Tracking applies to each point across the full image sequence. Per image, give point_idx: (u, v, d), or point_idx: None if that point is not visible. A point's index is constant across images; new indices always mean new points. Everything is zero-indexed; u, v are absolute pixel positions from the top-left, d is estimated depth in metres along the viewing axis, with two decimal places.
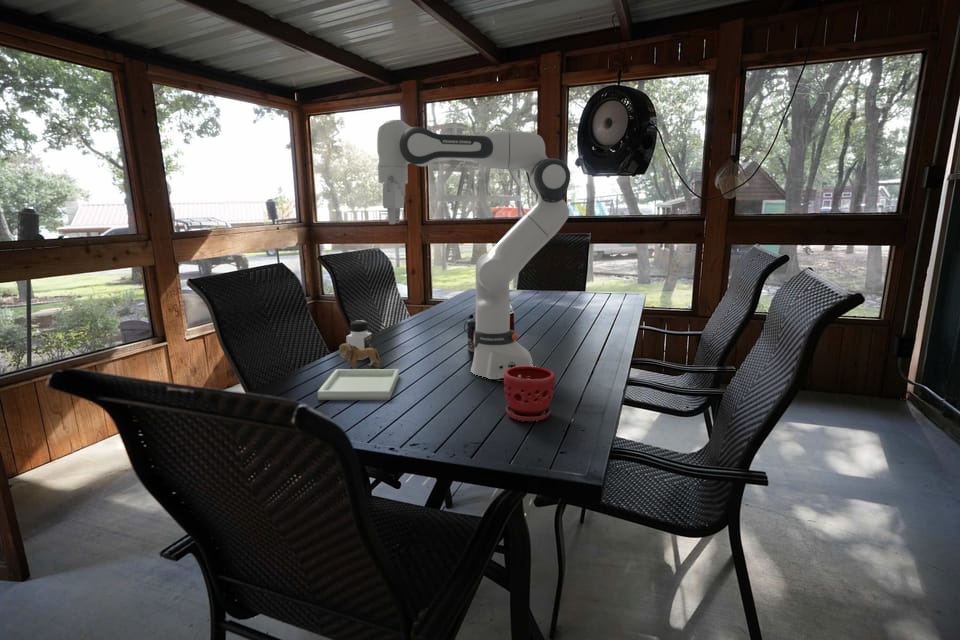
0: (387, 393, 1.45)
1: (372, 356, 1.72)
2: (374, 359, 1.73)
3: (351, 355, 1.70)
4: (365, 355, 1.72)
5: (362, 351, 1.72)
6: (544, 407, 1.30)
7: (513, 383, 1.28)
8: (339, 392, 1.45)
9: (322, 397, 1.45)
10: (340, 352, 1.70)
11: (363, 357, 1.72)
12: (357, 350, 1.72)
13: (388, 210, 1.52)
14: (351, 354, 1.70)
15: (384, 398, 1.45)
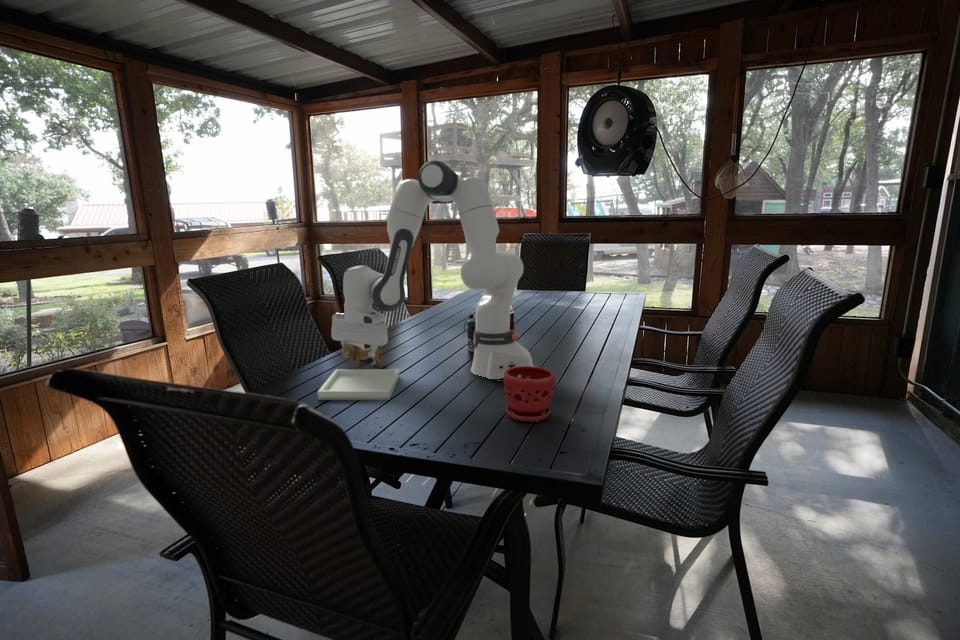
0: (387, 393, 1.45)
1: (375, 356, 1.73)
2: (377, 359, 1.73)
3: (355, 355, 1.70)
4: (368, 355, 1.73)
5: (365, 351, 1.72)
6: (544, 407, 1.30)
7: (513, 383, 1.28)
8: (339, 392, 1.45)
9: (322, 397, 1.45)
10: (343, 352, 1.70)
11: (366, 357, 1.73)
12: (360, 349, 1.72)
13: None
14: (354, 354, 1.70)
15: (384, 398, 1.45)
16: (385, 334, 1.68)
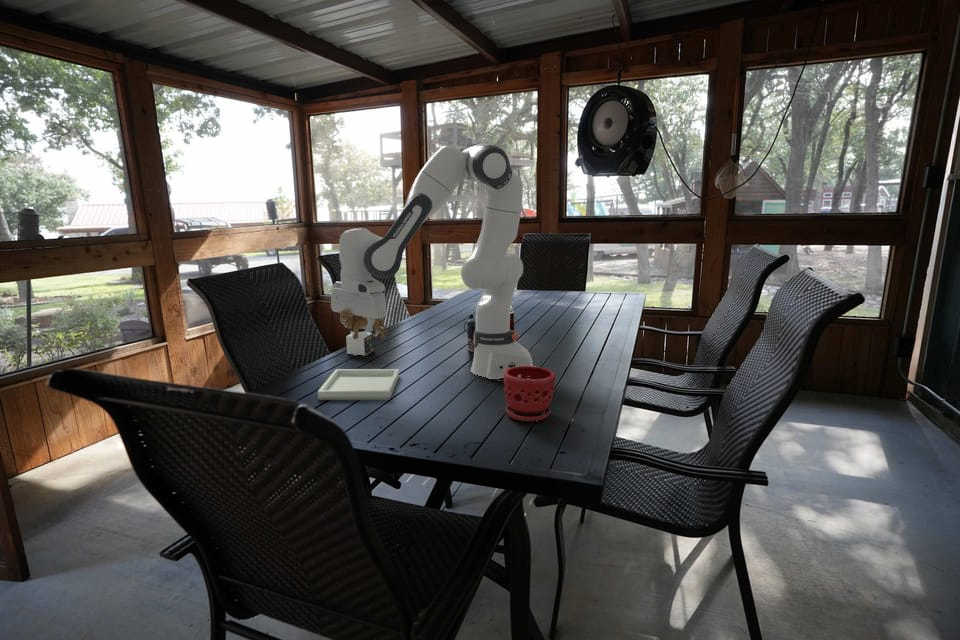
0: (387, 393, 1.45)
1: (376, 325, 1.54)
2: (378, 328, 1.54)
3: (353, 322, 1.53)
4: None
5: (365, 319, 1.54)
6: (544, 407, 1.30)
7: (513, 383, 1.28)
8: (339, 392, 1.45)
9: (322, 397, 1.45)
10: (340, 319, 1.53)
11: None
12: (360, 317, 1.54)
13: None
14: (352, 321, 1.53)
15: (384, 398, 1.45)
16: (382, 305, 1.48)
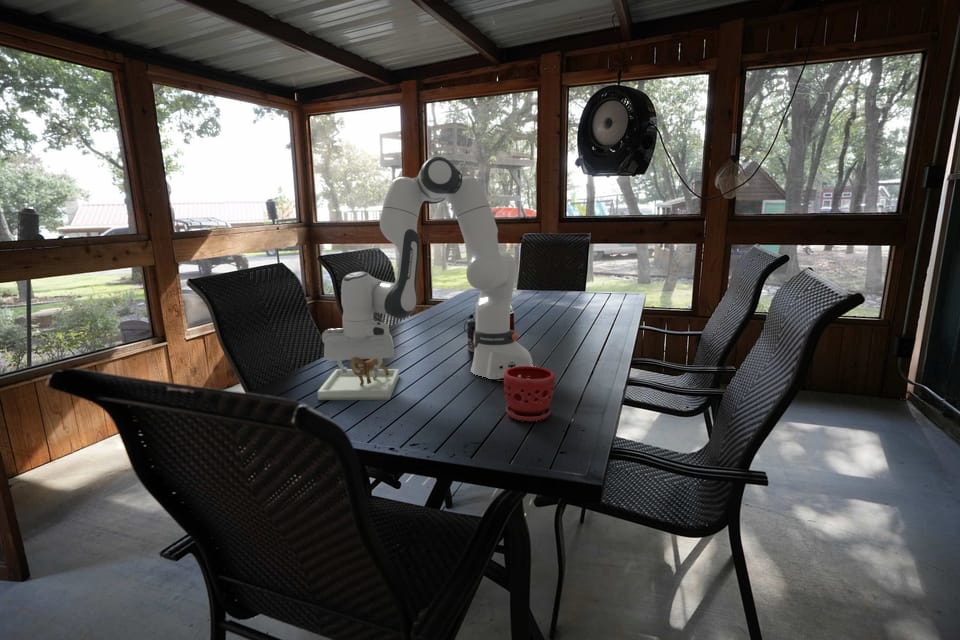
0: (387, 393, 1.45)
1: (381, 364, 1.58)
2: (383, 366, 1.59)
3: (365, 366, 1.53)
4: (374, 365, 1.57)
5: (370, 361, 1.56)
6: (544, 407, 1.30)
7: (513, 383, 1.28)
8: (339, 392, 1.45)
9: (322, 397, 1.45)
10: (354, 367, 1.50)
11: (373, 368, 1.56)
12: (365, 361, 1.55)
13: None
14: (365, 366, 1.52)
15: (384, 398, 1.45)
16: None
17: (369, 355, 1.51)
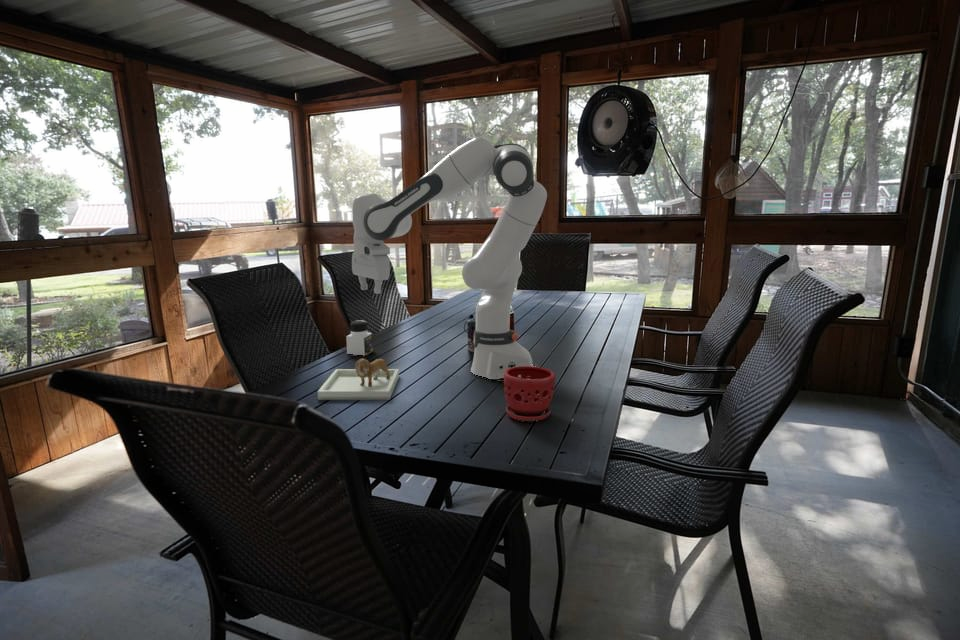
0: (387, 393, 1.45)
1: (385, 367, 1.58)
2: (386, 370, 1.59)
3: (370, 370, 1.52)
4: (378, 368, 1.56)
5: (375, 364, 1.55)
6: (544, 407, 1.30)
7: (513, 383, 1.28)
8: (339, 392, 1.45)
9: (322, 397, 1.45)
10: (359, 370, 1.49)
11: (376, 370, 1.56)
12: (370, 363, 1.54)
13: None
14: (369, 369, 1.52)
15: (384, 398, 1.45)
16: (385, 268, 1.54)
17: (368, 274, 1.59)
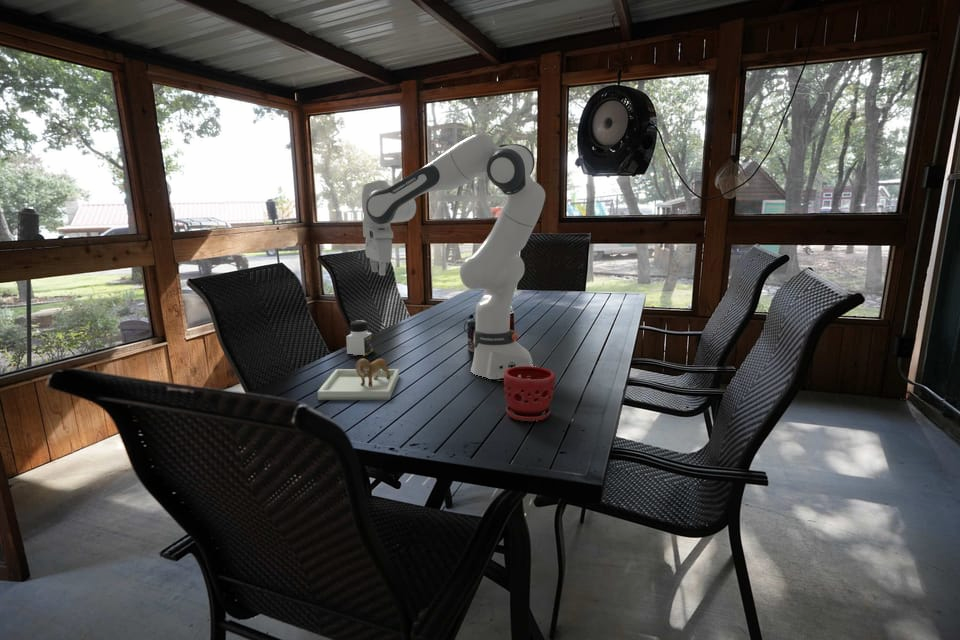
0: (387, 393, 1.45)
1: (385, 367, 1.58)
2: (386, 370, 1.59)
3: (370, 370, 1.52)
4: (378, 367, 1.56)
5: (375, 364, 1.56)
6: (544, 407, 1.30)
7: (513, 383, 1.28)
8: (339, 392, 1.45)
9: (322, 397, 1.45)
10: (359, 370, 1.49)
11: (377, 370, 1.56)
12: (370, 363, 1.54)
13: None
14: (369, 369, 1.52)
15: (384, 398, 1.45)
16: (387, 251, 1.62)
17: (374, 257, 1.68)
